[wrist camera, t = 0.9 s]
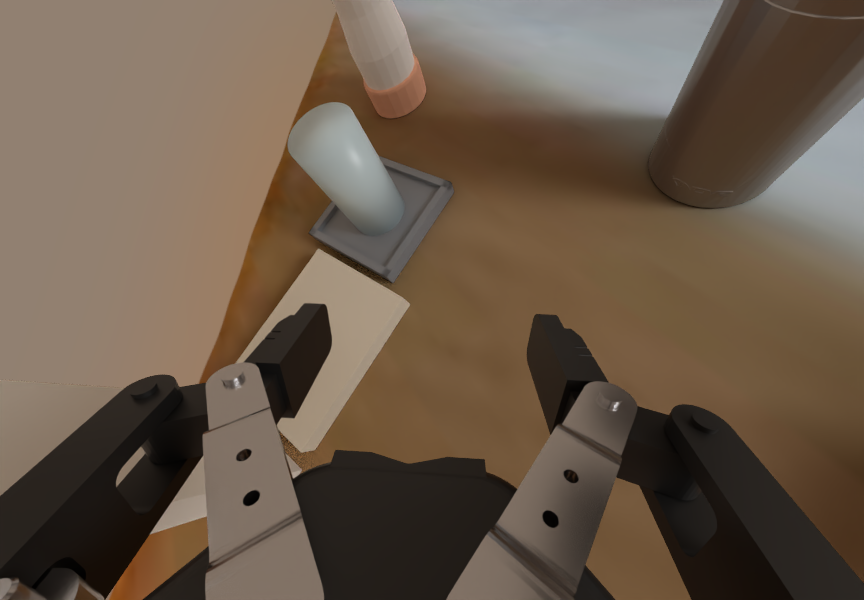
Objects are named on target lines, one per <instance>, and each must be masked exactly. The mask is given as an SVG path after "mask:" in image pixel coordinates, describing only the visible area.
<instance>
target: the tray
mask: <svg viewBox="0 0 864 600" xmlns="http://www.w3.org/2000/svg"><path fill="white" fill-rule="evenodd" d="M379 158H380V160H381V162H382V163H383V165H384V167H385V169H386V170H387V172H388V174H389V176H390V177H391V179H392V181H393V183H394V184H395V186H396V188H397V190H398V191H399V193H400V195H401V197H402V198H403V201H404V213H403V216H402V218H401V220H400V221H399V223H398V224H397V225H396V226H395V227H394V228H393V229H392V230H390V231H389V232H387V233H384V234H382V235H378V236H369V235H365V234H363V233H362V232H360V231H359V230H358V229H357V228H356V227H355V225H354V224H353V223H352V222H351V221H350V220H349V219H348V218H347V217H346V216H345V214H344V213H343V212H342V211H341V210H340V209H339V208H338V207H337V206H336V205H335V203H334V202H333V201H332V202H331V203H330V204H329V206H328V207H327V208H326V210H325V211H324V213H323V214H322V215H321V217H320V218H319V219H318V221H317V222H316V223H315V225H314V226H313V227H312V229H311V230H310V232H309V234H310V235H311V236H313V237H314V238H315V239H316V240H318V241H319V242H321V243H323V244H325V245H326V246H328V247H330V248H332V249H334V250H335V251H337V252H339V253H341V254H342V255H344V256H346V257H348V258H349V259H351V260H353V261H355V262H356V263H358V264H360V265H362V266H363V267H365V268H367V269H369V270H371V271H372V272H374V273H376V274H378V275H379V276H381V277H383V278H385V279H386V280H388V281H390V282H392V283H394V281H395V280H396V278H397V277H398V275H399V274H400V272H401V271H402V269H403V268H404V266H405V265H406V263H407V262H408V260H409V259H410V257H411V256H412V254H413V253H414V251H415V250H416V248H417V247H418V245H419V244H420V242H421V241H422V239H423V238H424V236H425V235H426V233H427V232H428V231H429V229H430V228H431V226H432V225H433V223H434V222H435V220H436V219H437V217H438V216H439V214H440V213H441V211H442V210H443V208H444V207H445V205H446V204H447V202H448V201H449V199H450V198H451V196H452V195H453V193H454V189H453V186H452V183H451V182H449V181H446V180H444V179H441V178H438V177H435V176H433V175H430V174H427V173H424V172H422V171H419V170H416V169H413V168H411V167H408V166H405V165H402V164H400V163H397V162H394V161H391V160H389V159H386V158H383V157H380V156H379Z"/></svg>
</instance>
